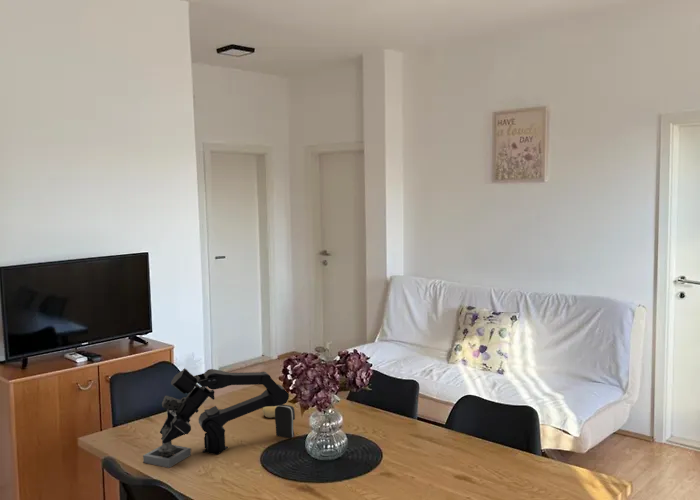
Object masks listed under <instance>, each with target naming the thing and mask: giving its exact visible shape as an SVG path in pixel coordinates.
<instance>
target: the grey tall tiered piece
mask: <svg viewBox="0 0 700 500" xmlns="http://www.w3.org/2000/svg"><path fill="white" fill-rule="evenodd" d="M161 429H162V428H161ZM169 430H170V428H169V427H167V425H165V427H164V428H163V429H162V434H161V438H160V440H161V443H162V444H161V446H162V447H160V446H159V447H160V448H159V449H158V451H159V453H160V455H161V456H160V457H165V458H169V457H171V456H173V455H175V454H174V453H175V449H176V447H175V446H173V445H174V444H173V443H172V440H171V441H169V442H167V443H165V444H164V443H163V442H162V441H163V439H164V438H165V436H166V435H167V433H168V432H169Z"/></svg>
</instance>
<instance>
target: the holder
mask: <svg viewBox="0 0 700 500" xmlns="http://www.w3.org/2000/svg"><path fill="white" fill-rule="evenodd" d="M172 445H173V446H175V447H176V449H175V453H174V454H173V456H171V457H169V458H165V457H162V456H161V455H160V453H159V451H158V449H159V448H160V447H162V445H160V446H158V447H156V448H154V449H152V450H151V451H149V452H147V453H145V454H143V455H142V457H143V458H142V459H143V461H142V462H143V463H144V464H148V465H154V466H157V467H158V466H159V467H163V468H169V469H170V468H171V467H173V466H175V465H177V464H178V463H180V462H182V461H183V460H186V459H187V458H188V457H190V456H192V452H191V451H192V448H191V447H187V446H181V445H176V444H172Z"/></svg>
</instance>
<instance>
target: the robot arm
mask: <svg viewBox="0 0 700 500" xmlns="http://www.w3.org/2000/svg"><path fill="white" fill-rule="evenodd" d="M170 385H171V386H173V387H174V388H175V389H177V390H178V391H179V392H180V393H182V394H184V395H185V394H187V396H186V397H185V396H183V397H182V398H180V399H179V398H176V397H173V396H169V395H164V397H163V400H162V402H161V405H162V409H166V415H167V417H166V419H165V421H164V423H163V425H162V426H161V429H160V431H159V434H161V435H162V429H163V428H164V427H165V425H167V427H169V428H170V430H169V432H168V433H167V435H166V436H165V438H164V439H163V441H162V440H161V443H162V442H163V443H164V444H165V443H167V442H169V441H171V442H172V441H173V440H175V439H177V438H180V437H182V436H185V435H189V434H190V432H191V431H192V426H191V423H190V421H191V418H192V417H193V416H194V414H195V413H196V414H198V412H199V410H200V408H201V407H202V405H203V404H204V403H205V402H206V400H207V399H208V398H210V399H211V400H212V401H214V400H215V399H216V398H215V390H220V389H224V388H226V387H229V386H250V385H251V386H253V385H254V386H255V385H263V387H264V388H265V390H264V391H263V392H262V393H261V394H259V395H257V396H254V397H251V398H249V399H246V400H244V401H241V402H239V403H235V404H234V405H231V406H227V407H225V408H223V409H222V408H221V409H219V408H218V407H217V406H216V405H214V406H212V407H210V408H209V409H207V408H206V409H204V411H203V412H201V413H200V415H199V417H198V424H199V426H200V427H201V429H202V431H203V432H204V437H203V439H204V440H203V441H204V443H203V444H204V449H203V450H202V453H206V454H211V455H217V456H218V455H220V454H221V453H222V452H225V450H227V449H229V446H226V437H225V436H226V435H225V433H226V428H224V425H226V424H227V423H228V422H230V421H233V420H235V419H238V418H240V417H243V416H246V415H248V414H250V413H253V412H256V411H258V410H260V409H262V408H263V407H269V406H278V405H286V404H287V402H288V400H289V399H290V394H289V392H288V393H287V392H286V391H285V390H284V389H285V388H284V386H282V385H281V384H278V383H277V382H275V381H274V379H272V377H271V375H270V374H269V373H268V372H266V371H258V372H257V371H256V372H228V371H224V370H219V369H214V368H210V369H207V370H206V371H204V373H200V374H196V375H193V374H192V373H190V372H189V370H188V369H187V368H183V369H182V370H180V371H178V373H176V374H175V375H174V376H173V378H171V382H170ZM283 388H284V389H283Z"/></svg>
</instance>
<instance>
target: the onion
mask: <svg viewBox="0 0 700 500" xmlns="http://www.w3.org/2000/svg"><path fill="white" fill-rule="evenodd" d="M278 406H279V405H278ZM276 407H277V406H269V407H263V408H261V409H262V410H261V411H262V414H263V416H265V418H275V408H276Z"/></svg>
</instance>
